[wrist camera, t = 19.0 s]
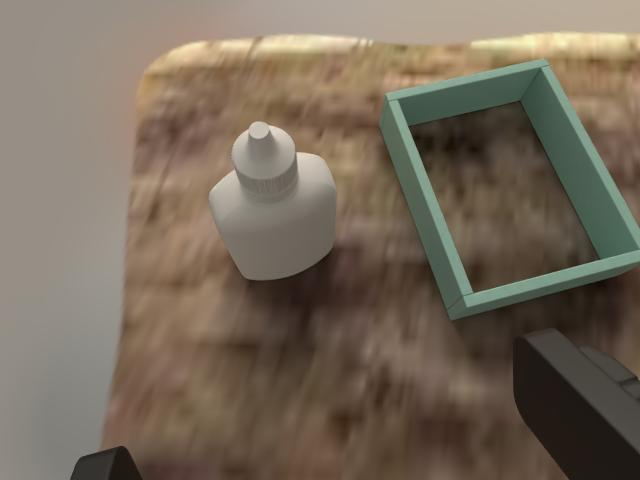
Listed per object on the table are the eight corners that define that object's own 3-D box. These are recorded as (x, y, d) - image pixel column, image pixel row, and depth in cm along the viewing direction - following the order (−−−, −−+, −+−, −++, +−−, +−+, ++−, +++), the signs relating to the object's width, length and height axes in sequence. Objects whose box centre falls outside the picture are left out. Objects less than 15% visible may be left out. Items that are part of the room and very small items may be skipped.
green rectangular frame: (618, 275, 27) (656, 257, 24) (450, 321, 26) (467, 308, 23) (524, 92, 31) (545, 57, 28) (378, 125, 30) (384, 92, 27)
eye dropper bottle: (244, 209, 28) (194, 70, 17) (337, 221, 28) (347, 88, 17) (229, 278, 27) (162, 175, 15) (327, 292, 26) (331, 197, 15)
